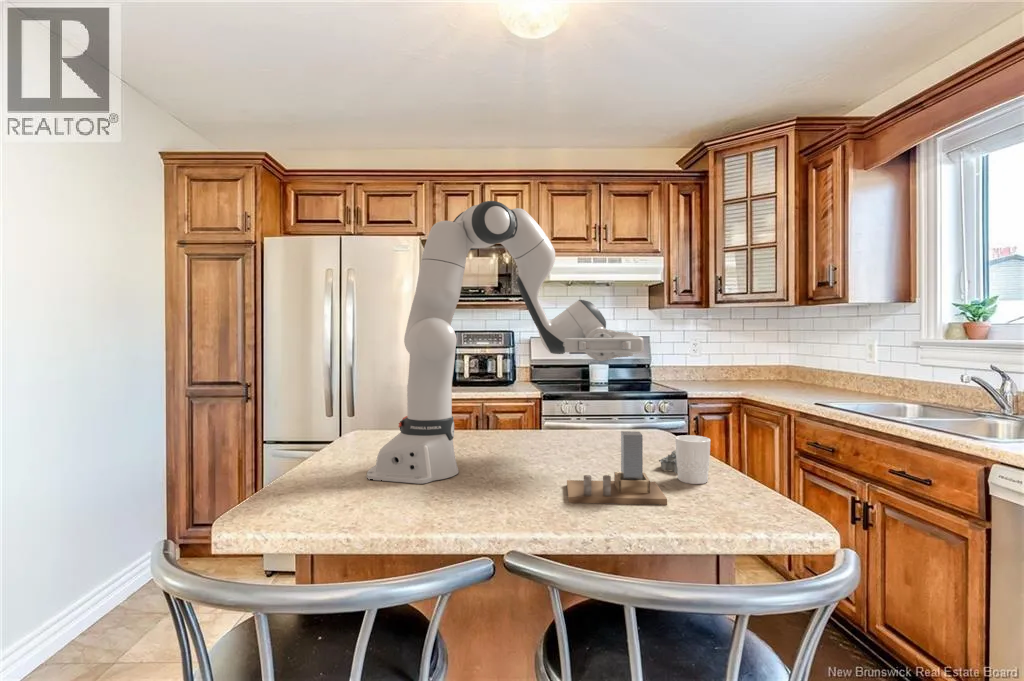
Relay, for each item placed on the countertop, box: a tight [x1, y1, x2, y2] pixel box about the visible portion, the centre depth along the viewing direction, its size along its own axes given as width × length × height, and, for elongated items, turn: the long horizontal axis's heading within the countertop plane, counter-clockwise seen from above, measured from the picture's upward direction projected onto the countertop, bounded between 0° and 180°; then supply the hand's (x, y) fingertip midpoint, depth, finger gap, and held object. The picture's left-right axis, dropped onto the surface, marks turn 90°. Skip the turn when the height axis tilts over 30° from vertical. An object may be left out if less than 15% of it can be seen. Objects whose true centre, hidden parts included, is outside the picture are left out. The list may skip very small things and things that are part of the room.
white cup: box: [674, 434, 711, 485], centre depth 121 cm, size 8×8×10 cm
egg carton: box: [658, 449, 678, 474], centre depth 131 cm, size 11×8×4 cm
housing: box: [566, 471, 668, 506], centre depth 110 cm, size 20×12×5 cm, turn 86°
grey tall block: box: [620, 430, 644, 480], centre depth 111 cm, size 4×4×12 cm
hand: (606, 345), depth 125 cm, fingers open, 8 cm apart
